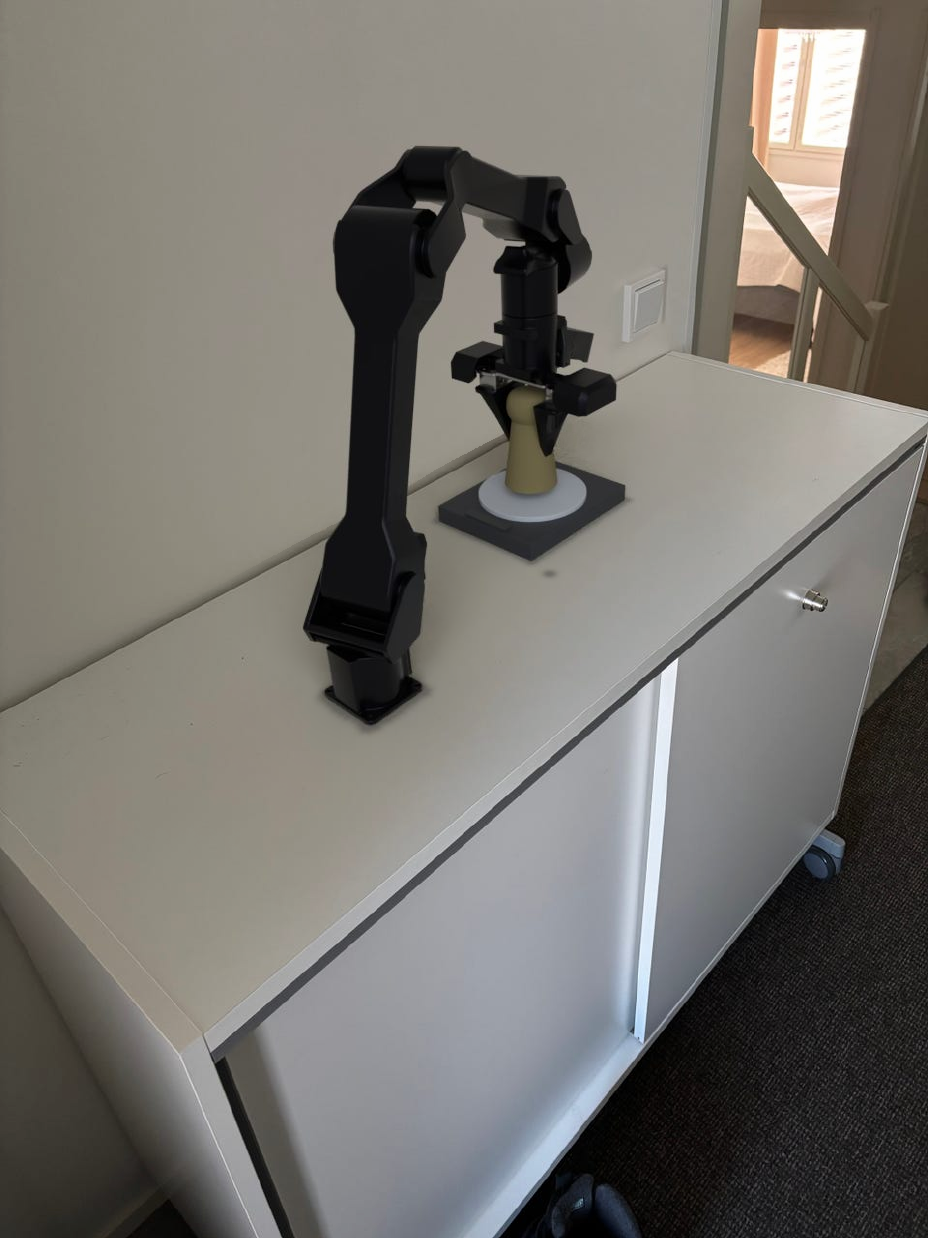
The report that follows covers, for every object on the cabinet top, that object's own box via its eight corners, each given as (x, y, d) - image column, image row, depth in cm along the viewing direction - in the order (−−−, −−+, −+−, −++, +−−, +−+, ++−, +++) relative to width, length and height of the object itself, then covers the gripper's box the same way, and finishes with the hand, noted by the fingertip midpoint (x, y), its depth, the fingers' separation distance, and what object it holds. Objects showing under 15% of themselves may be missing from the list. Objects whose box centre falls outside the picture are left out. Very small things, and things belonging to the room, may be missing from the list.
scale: (531, 561, 98) (531, 540, 97) (438, 520, 107) (437, 501, 105) (624, 500, 108) (625, 480, 107) (533, 467, 116) (532, 448, 115)
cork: (566, 476, 105) (568, 383, 99) (541, 498, 101) (541, 403, 95) (521, 465, 108) (519, 375, 102) (494, 486, 104) (491, 394, 98)
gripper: (651, 304, 93) (642, 447, 102) (512, 276, 104) (515, 407, 113) (584, 335, 86) (581, 484, 96) (443, 302, 97) (452, 438, 106)
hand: (531, 450), depth 103 cm, fingers closed on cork, 4 cm apart
